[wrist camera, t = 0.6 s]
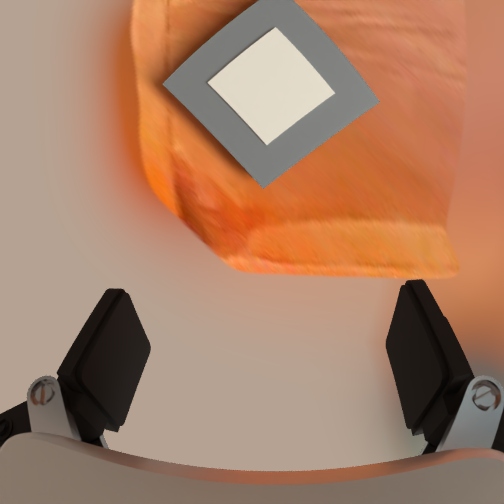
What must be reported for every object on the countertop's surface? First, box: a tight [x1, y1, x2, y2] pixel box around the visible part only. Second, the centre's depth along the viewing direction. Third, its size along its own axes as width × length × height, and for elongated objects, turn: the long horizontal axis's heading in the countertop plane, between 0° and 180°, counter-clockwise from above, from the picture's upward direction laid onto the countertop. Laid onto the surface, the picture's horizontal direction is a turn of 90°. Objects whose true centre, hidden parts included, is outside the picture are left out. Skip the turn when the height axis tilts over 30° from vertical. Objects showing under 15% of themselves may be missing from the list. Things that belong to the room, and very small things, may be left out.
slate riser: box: [163, 0, 380, 189], centre depth 28 cm, size 16×16×4 cm
